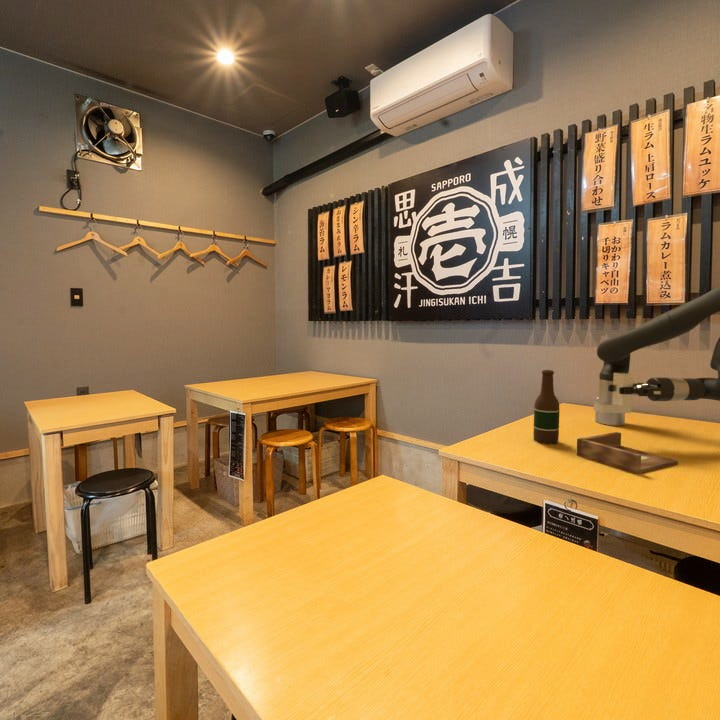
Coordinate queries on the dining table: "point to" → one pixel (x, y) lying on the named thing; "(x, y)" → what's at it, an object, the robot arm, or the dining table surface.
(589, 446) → the walls
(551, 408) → the beer bottle
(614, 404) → the bracket
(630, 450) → the board
